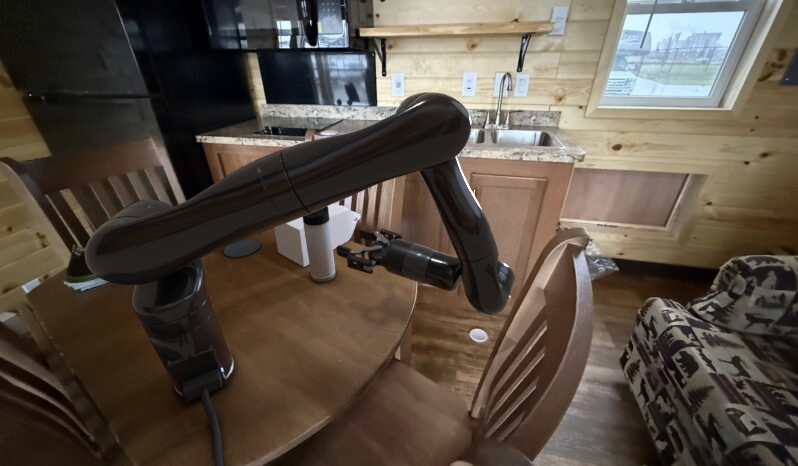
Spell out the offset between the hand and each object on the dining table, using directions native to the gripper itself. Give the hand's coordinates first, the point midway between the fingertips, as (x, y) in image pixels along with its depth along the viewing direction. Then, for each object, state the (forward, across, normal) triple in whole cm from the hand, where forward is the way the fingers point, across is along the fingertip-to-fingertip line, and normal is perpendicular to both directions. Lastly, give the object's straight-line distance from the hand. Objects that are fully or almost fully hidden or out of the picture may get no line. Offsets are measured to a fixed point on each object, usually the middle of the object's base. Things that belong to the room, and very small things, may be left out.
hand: (349, 241), depth 72 cm
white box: (+23, -2, +8) cm, 25 cm away
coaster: (+40, +1, +14) cm, 43 cm away
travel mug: (+10, -1, +14) cm, 18 cm away
